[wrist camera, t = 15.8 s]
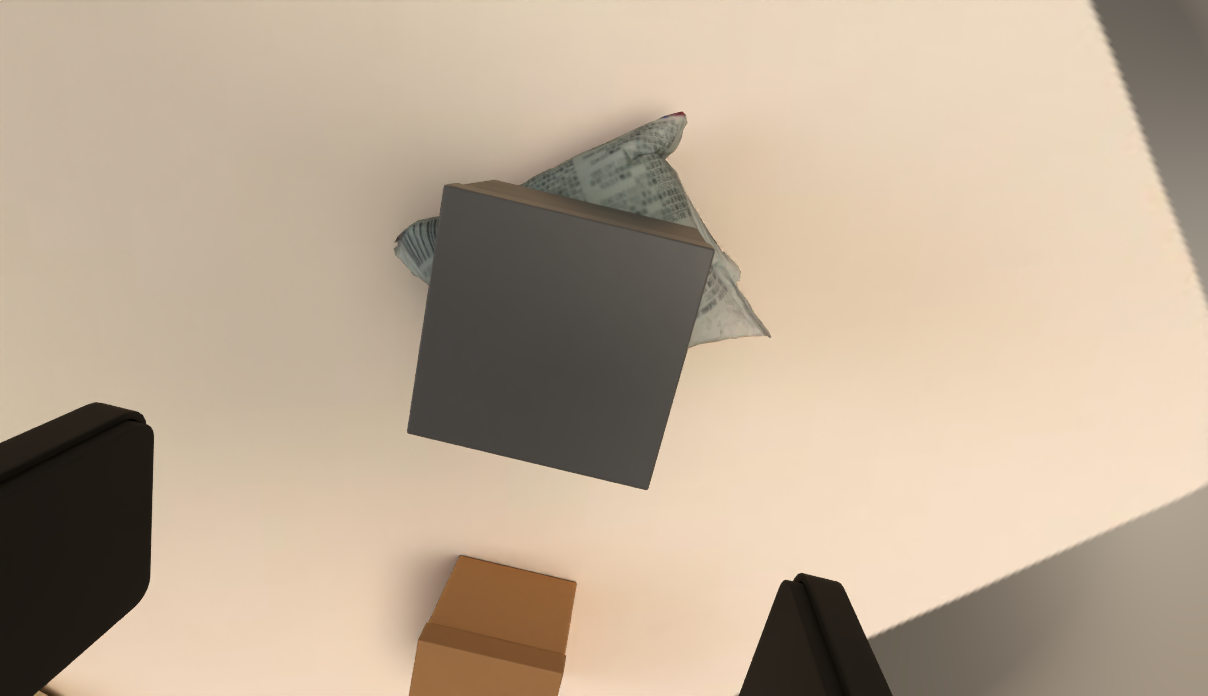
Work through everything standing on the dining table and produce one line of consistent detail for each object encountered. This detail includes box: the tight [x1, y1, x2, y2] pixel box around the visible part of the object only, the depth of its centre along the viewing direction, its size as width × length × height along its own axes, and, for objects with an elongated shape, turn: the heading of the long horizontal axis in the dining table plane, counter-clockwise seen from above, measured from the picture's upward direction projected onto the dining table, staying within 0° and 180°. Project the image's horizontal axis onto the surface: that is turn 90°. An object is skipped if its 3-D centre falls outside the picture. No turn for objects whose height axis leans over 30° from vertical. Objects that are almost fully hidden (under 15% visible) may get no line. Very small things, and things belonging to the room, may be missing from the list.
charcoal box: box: [407, 180, 715, 490], centre depth 19 cm, size 7×7×5 cm
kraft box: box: [409, 556, 577, 696], centre depth 28 cm, size 6×6×6 cm
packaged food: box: [394, 112, 771, 348], centre depth 24 cm, size 9×12×5 cm
